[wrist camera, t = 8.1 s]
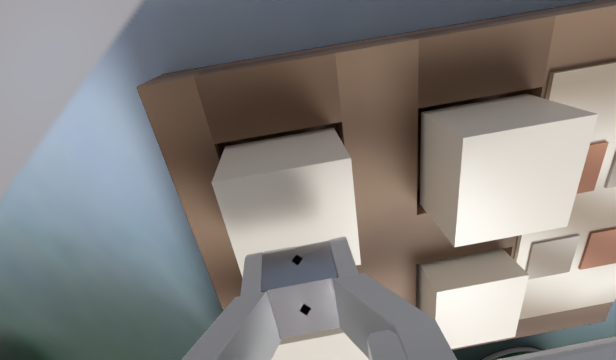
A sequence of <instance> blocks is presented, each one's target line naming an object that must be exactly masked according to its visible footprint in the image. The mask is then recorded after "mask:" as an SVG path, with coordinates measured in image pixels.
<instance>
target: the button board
mask: <svg viewBox="0 0 616 360" xmlns="http://www.w3.org/2000/svg"><path fill="white" fill-rule="evenodd" d="M137 90H138V92H139V95H140V98H141V100H142V103H143V105H144V108H145V110H146V113H147V116H148V118H149V121H150V123H151V126H152V128H153V131H154V134H155V136H156V139H157V141H158V144H159V146H160V149H161V152H162V154H163V157H164V159H165V162H166V164H167V167H168V170H169V172H170V175H171V177H172V180H173V183H174V185H175V188H176V190H177V193H178V195H179V198H180V201H181V203H182V206H183V208H184V211H185V213H186V216H187V219H188V221H189V224H190V226H191V229H192V231H193V234H194V237H195V239H196V242H197V244H198V247H199V249H200V252H201V255H202V257H203V260H204V262H205V265H206V268H207V270H208V273H209V275H210V278H211V280H212V283H213V286H214V288H215V291H216V293H217V296H218V298H219V301H220V304H221V306H222V309H223V311H224V310H225V308H226V307H227V306H228V305H229V304H230V303H231V301H232V300H233V299H234V298H235V297H238V296H240V294H241V286H242V275H241V272H240V269H239V266H238V263H237V260H236V257H235V253H234V250H233V247H232V244H231V241H230V238H229V235H228V232H227V229H226V226H225V223H224V220H223V217H222V214H221V211H220V207H219V204H218V201H217V198H216V195H215V192H214V189H213V186H212V180H213V177H214V175H215V172H216V169H217V167H218V164H219V161H220V159H221V156H222V154H223V151H224V148H225V146H230V145H236V144H242V143H247V142H253V141H259V140H265V139H270V138H276V137H282V136H287V135H293V134H299V133H305V132H310V131H316V130H322V129H327V128H333V127H334V129H335V131H336V132H337V134H338V136H339V138H340V139H341V141H342V143H343V145H344V146H345V148H346V150H347V152H348V153H349V155H350V157H351V163H352V173H353V184H354V195H355V205H356V216H357V227H358V238H359V248H360V259H361V265H356V267H357V270H358V273H359V274H360V273H365V274H366V275H368V276H369V277H371V278H372V279H374V280H375V281H377V282H379V283H380V284H382V285H383V286H385V287H386V288H388V289H389V290H391V291H392V292H394V293H395V294H397V295H398V296H400V297H402V298H403V299H405V300H406V301H408V302H409V303H411V304H412V305H414V306H415V307H416V264H421V263H427V262H432V261H438V260H443V259H448V258H454V257H459V256H465V255H470V254H475V253H481V252H486V251H492V250H497V249H503V250H504V251H505V252H506V253H507V254H509V255H510V256H511V257H512V258H513V259H514V260H515V261H516V262H517V263H518V264H519V265H520V266H521V267H522V268H523V269H524V270H525V271H526V272H527V273H528V274H529V278H528V282H527V287H526V291H525V295H524V300H523V304H522V308H521V313H520V317H519V322H518V326H517V330H516V335H515V337H512V338H506V339H501V340H496V341H491V342H485V343H480V344H475V345H470V346H465V347H459V348H454V349H452V350H457V349H462V348H467V347H472V346H478V345H483V344H488V343H493V342H498V341H504V340H509V339H514V338H519V337H525V336H530V335H535V334H540V333H545V332H551V331H556V330H561V329H566V328H572V327H577V326H582V325H587V324H592V323H598V322H603V321H605V320H606V317H607V315H608V312H609V310H610V307H611V305H612V303H613V302H614V301H615V299H616V0H597V1H591V2H586V3H580V4H574V5H568V6H562V7H556V8H550V9H544V10H538V11H532V12H527V13H521V14H515V15H509V16H503V17H497V18H491V19H485V20H479V21H473V22H468V23H462V24H456V25H450V26H444V27H438V28H432V29H426V30H420V31H414V32H409V33H403V34H397V35H391V36H385V37H379V38H373V39H367V40H361V41H355V42H350V43H344V44H338V45H332V46H326V47H320V48H314V49H308V50H302V51H296V52H291V53H285V54H279V55H273V56H267V57H261V58H255V59H249V60H243V61H237V62H232V63H226V64H220V65H214V66H208V67H202V68H196V69H190V70H184V71H178V72H173V73H167V74H162V75H160V76H158V77H156V78H154V79H152V80H150V81H148V82H146V83H144V84H142V85H140V86H137ZM522 94H530V95H533V96H537V97H540V98H544V99H547V100H551V101H554V102H558V103H561V104H565V105H568V106H572V107H575V108H579V109H582V110H586V111H589V112H593V113H596V114H598V117H597V121H596V125H595V128H594V132H593V135H592V139H591V143H590V146H589V150H588V153H587V157H586V161H585V164H584V168H583V171H582V175H581V179H580V182H579V186H578V190H577V193H576V197H575V200H574V204H573V208H572V211H571V215H570V218H569V222H568V226H567V227H562V228H557V229H551V230H546V231H541V232H535V233H530V234H524V235H519V236H513V237H508V238H503V239H497V240H492V241H486V242H481V243H476V244H470V245H465V246H459V247H454V246H453V245H452V244H451V242H450V241H449V240H448V239H447V237H446V236H445V235H444V234H443V232H442V231H441V230H440V229H439V227H438V226H437V225H436V224H435V222H434V221H433V220H432V219H431V217H430V216H429V215H428V214H427V212H426V211H425V210H424V209H423V207H422V206H421V205H420V153H421V112H425V111H430V110H436V109H442V108H447V107H453V106H459V105H465V104H470V103H476V102H482V101H487V100H493V99H499V98H505V97H510V96H516V95H522Z"/></svg>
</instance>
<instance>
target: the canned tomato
mask: <svg viewBox="0 0 616 360" xmlns="http://www.w3.org/2000/svg"><path fill="white" fill-rule="evenodd" d="M539 351H542V350H539V349H536V348H532V347H515V348H509V349H505V350H502V351H498V352H496V353H493V354H491V355H489V356H487V357H485V358H483V359H482V360H498V359H503V358H508V357H513V356H518V355H523V354H528V353H533V352H539Z"/></svg>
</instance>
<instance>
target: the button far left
mask: <svg viewBox="0 0 616 360" xmlns="http://www.w3.org/2000/svg"><path fill="white" fill-rule="evenodd" d="M280 340H281V342H280V344H279V346H278V348H277V350H276V352H275V354H274V356H273V358H272V359H271V360H369V359H368V358H367V357H366V355H365V354H364V353H363V352H362V351H361V350H360V349H359V348H358V347H357V346H356V345H355V344H354V343H353V342H352V341H351V340H350V339H349V337H348V336H347V335H346V334H345V333H344V332H343V331H342V330H341V328H335V329H329V330H323V331H317V332H310V333H306V334H302V335H297V336H293V337H288V338H284V339H280Z"/></svg>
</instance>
